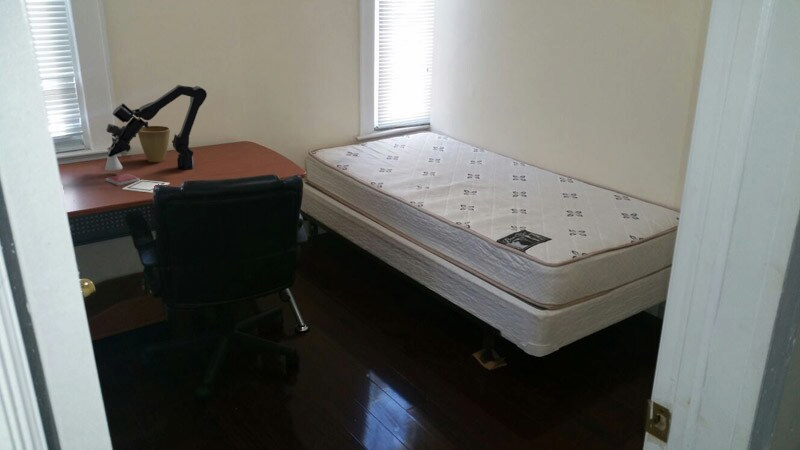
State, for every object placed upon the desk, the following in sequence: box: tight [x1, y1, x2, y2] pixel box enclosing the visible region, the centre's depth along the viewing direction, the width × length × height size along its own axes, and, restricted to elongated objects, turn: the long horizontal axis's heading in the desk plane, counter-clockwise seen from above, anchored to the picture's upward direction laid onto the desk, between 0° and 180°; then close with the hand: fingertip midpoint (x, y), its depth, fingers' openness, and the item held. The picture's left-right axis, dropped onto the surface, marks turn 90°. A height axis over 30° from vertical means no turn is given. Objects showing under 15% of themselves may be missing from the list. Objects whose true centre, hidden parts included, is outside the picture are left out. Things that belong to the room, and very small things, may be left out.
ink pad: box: [105, 173, 140, 186], centre depth 282 cm, size 10×10×2 cm
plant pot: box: [137, 125, 171, 163], centre depth 313 cm, size 15×15×16 cm
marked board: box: [121, 179, 171, 194], centre depth 276 cm, size 14×14×1 cm
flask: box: [104, 146, 124, 172], centre depth 289 cm, size 7×7×10 cm
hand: (108, 155), depth 288 cm, fingers closed on flask, 3 cm apart
